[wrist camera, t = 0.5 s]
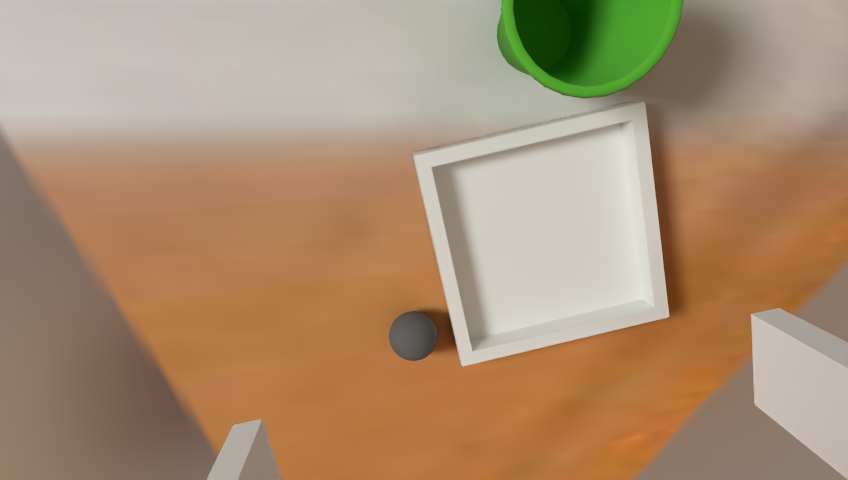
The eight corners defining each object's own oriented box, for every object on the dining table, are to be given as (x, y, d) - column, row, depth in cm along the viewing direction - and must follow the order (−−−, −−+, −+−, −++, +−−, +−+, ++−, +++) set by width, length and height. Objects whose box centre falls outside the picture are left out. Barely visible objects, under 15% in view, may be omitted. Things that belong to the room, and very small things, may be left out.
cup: (450, -11, 34) (478, -65, 24) (579, -58, 34) (664, -134, 24) (490, 119, 37) (532, 122, 26) (611, 76, 37) (703, 61, 26)
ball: (384, 310, 40) (383, 329, 36) (429, 299, 40) (433, 317, 36) (395, 352, 41) (395, 374, 37) (439, 341, 41) (444, 363, 37)
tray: (412, 153, 37) (413, 155, 34) (628, 102, 37) (645, 101, 35) (457, 351, 41) (462, 366, 38) (652, 304, 41) (669, 317, 39)
